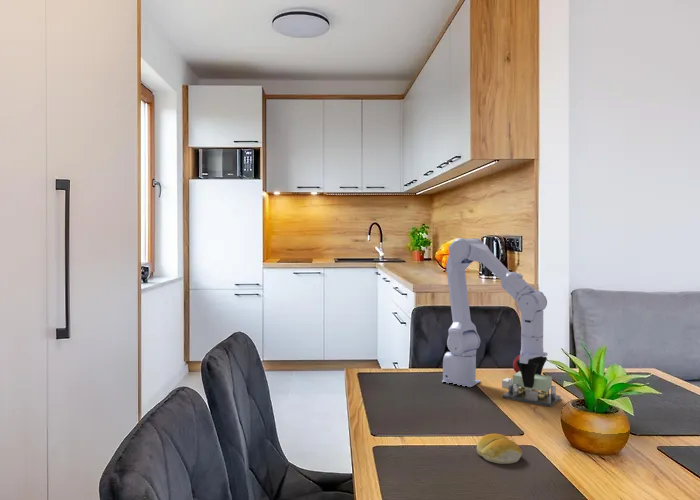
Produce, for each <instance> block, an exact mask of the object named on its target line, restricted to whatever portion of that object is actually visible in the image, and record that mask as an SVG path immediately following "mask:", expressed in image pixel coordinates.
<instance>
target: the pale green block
mask: <svg viewBox="0 0 700 500" xmlns="http://www.w3.org/2000/svg"><path fill="white" fill-rule="evenodd" d="M512 379H513V386H514V383H517V384H519V385H518V387H522V388H528V389H532V391H538V392H541V391H545V392H546V391H548V390H549V391H550V390H551V386H553V381H552V380H553V376H551V375H543V374H541V375H539V374H535V378H534V384H533V387H532V388H529V387H524V383H523V379H522V375H521V372H520V371H519V372H517V373H516V372H515V373H514V374H513V375H512Z"/></svg>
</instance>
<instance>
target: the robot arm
mask: <svg viewBox="0 0 700 500" xmlns="http://www.w3.org/2000/svg"><path fill="white" fill-rule="evenodd" d="M452 241H453V242H452V243H450V245H449V246H448V257H447V260H446V266H445V267H446V276H447V278H446V279H447V285H448V292H449V303H450V309H451V310H450V311H451V318H452V324H451V325H450V327H449V328H448V330H447V331H448V336H447V340H446V346H447V348H448V350H449V351H446V352H445V353H444V355H443V357H442V358H443V359H442V380H441V383H443V382H446V383H445V384H449V383H453V384H452V385H454V384H457V385H456V386H460V385H462V386H461V387H465V386H467V388H472V387H474V386H475V385H477V384H479V383H481V382H482V381H481V379H476V378H477V377H476V376H477V374H476V373H477V371H476V370H477V367H476V366H477V363H476V362H477V349H479V347H480V345H481V337H480V335H479V334H478V331H477V327H476V325H475V324H474V322H472V319H471V311H470V303H469V294H468V286H467V277H466V270H467V268H468V267H469V266H470V265H471V264H472V263H473V262H478V263H481V264H482V265H483V266H484V267H486V269H488V270H489V271H490V272H491V273H493V274H494V275H495V276H496V277H497V278H498V279H499V280H500V287H501V288H502V289H503V290H504V291H506V292H507V294H509V295H510V296H511V298H512V299H513V300H514V301H515V302H517V303H516V304H517V305H516V306H517V308H518V310H519V311H520V313H521V320H520V321H521V323H520V324H521V325H520V328H521V329H520V330H521V332H520V333H521V334H520V339H521V341H520V343H521V344H520V346H521V347H520V351H519V353H520V354H521V355H520V354H519V355H520V360H517V365H518V367H519V369H520V372H521V375H522V379H523V383H524V387H529V388H532V387H533V384H534V378H535V374H539V375H542V372H543V369H544V366H545V364H546V362H547V360H548V357H547V356H548V352H545V351H544V310H545V309H546V308H547V306H548V300H547V297H546V295H545V294H544V293H543V292H542V291H540V290H536V288H535V286H531V285H530V284H529V283H528V282H527V281H526V280H525V279H524V278H523V277H524V276H523V274H521V273H517V272H516V271H510V270H508V268H507V267H506V266H505V265H504V264H503V263H502V262H501V261H500V259H498V257H497V256H496V255H495V254H494V253H493V252H492V251H491V250H490V248H489V246H488V245H487V244H485V243H484V242H483V241H482V240H481V239H480V238H477V237H474V238H462V237H459V238H456V239H454V240H452Z"/></svg>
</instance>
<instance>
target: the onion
mask: <svg viewBox="0 0 700 500" xmlns="http://www.w3.org/2000/svg"><path fill="white" fill-rule="evenodd" d="M520 355H521V354H519V355H516V357H514V359H513V362H512V368H513V370H514V372H515V374H516V373H517V372H519V371H520V369H519V367H518V365H517V360H520Z"/></svg>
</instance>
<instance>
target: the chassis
mask: <svg viewBox="0 0 700 500" xmlns="http://www.w3.org/2000/svg"><path fill="white" fill-rule="evenodd" d="M518 385H519V384H517V383H514V388H513V378H510V379H509V388H508V391H507V392H505V393H504V394H502V398H503V399H507V400H512V401H517V402H522V403H527V404H528V403H529V404H533V405H539V406H544V407H549V408H552V407H553V406H554V405H555V404H557V403H558V401H560V400H562V399H561V398H562V396H561V395H558V394H557V387H556V386H555V385H552V386H551V388H550V389H549V390H548V391H546V392H545V391H537V390H531V391H530V390H526V388H522V387H519V388H518Z"/></svg>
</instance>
